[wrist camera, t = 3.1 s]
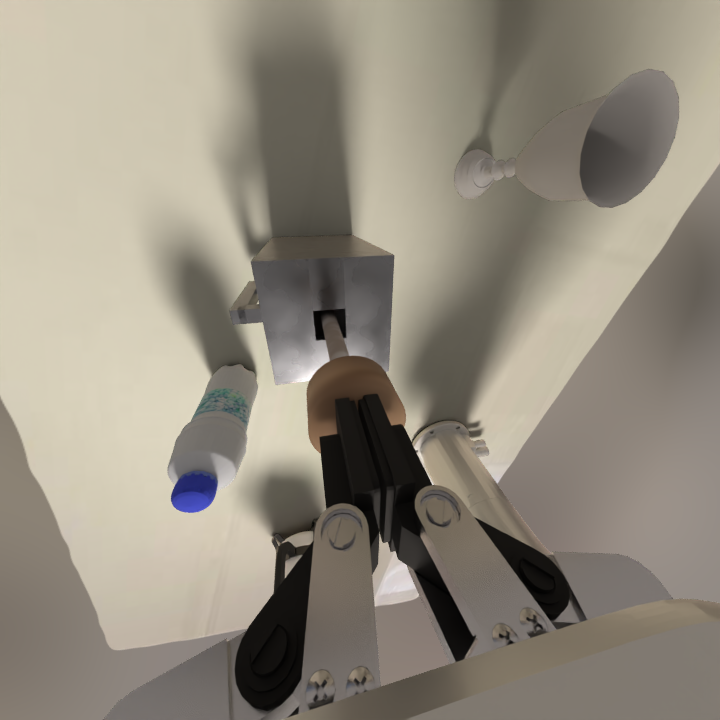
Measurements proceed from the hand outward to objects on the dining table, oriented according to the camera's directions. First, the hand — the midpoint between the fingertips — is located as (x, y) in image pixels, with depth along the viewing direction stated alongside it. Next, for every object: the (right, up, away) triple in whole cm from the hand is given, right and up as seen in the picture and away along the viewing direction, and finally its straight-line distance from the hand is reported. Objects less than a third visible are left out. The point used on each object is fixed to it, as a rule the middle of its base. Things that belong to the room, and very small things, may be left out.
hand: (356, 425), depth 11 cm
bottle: (-18, 0, +29) cm, 34 cm away
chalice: (+14, +25, +22) cm, 36 cm away
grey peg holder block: (-7, +13, +24) cm, 28 cm away
